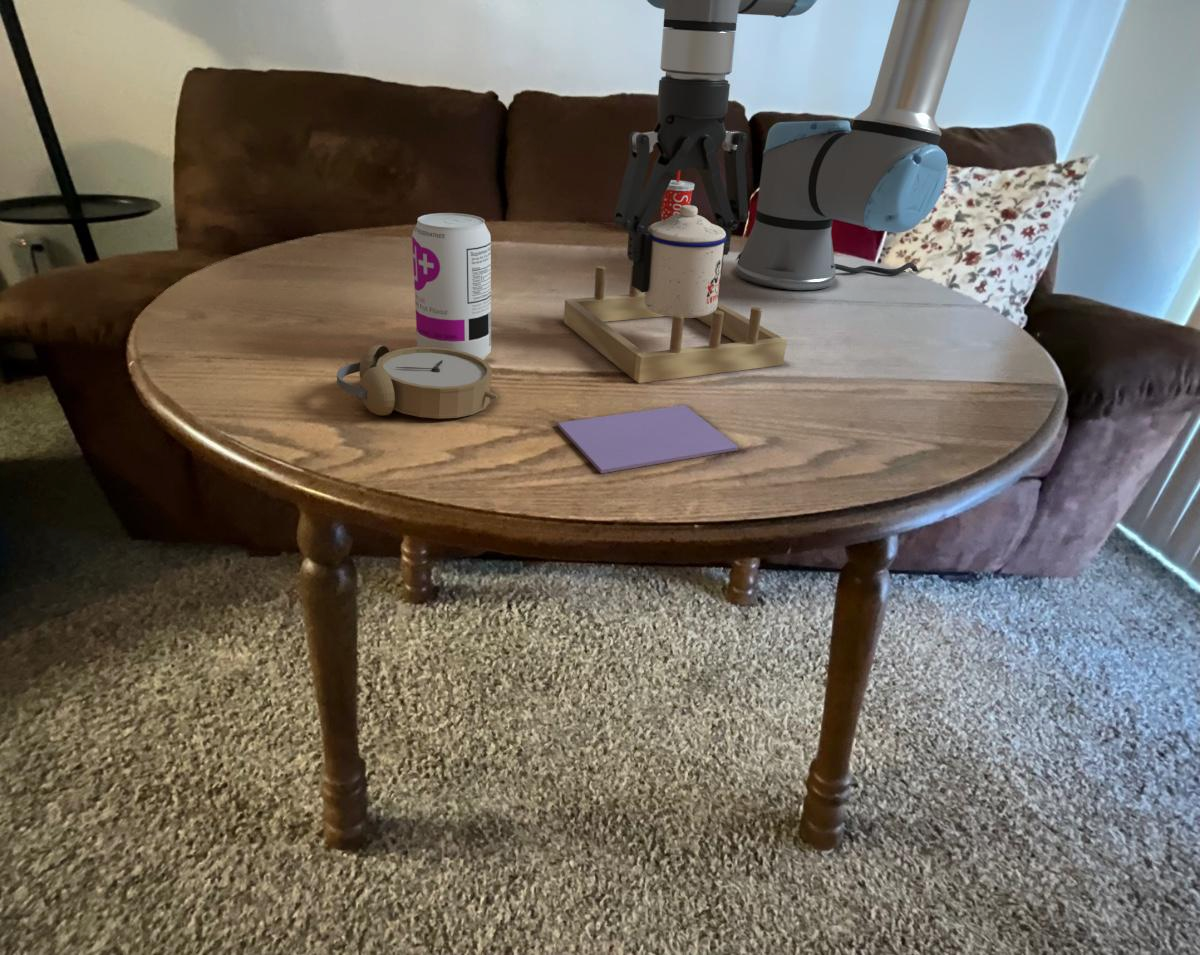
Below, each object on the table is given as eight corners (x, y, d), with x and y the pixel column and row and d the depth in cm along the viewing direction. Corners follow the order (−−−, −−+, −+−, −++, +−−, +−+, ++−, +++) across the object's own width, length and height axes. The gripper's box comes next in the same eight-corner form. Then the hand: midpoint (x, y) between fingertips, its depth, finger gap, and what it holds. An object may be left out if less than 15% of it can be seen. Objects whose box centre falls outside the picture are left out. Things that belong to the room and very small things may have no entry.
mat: (684, 408, 86) (684, 404, 86) (737, 450, 78) (738, 446, 78) (557, 426, 81) (557, 422, 81) (601, 473, 73) (601, 469, 73)
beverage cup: (654, 235, 155) (661, 154, 148) (658, 228, 160) (665, 150, 153) (688, 238, 154) (696, 157, 147) (690, 231, 159) (698, 152, 153)
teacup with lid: (723, 321, 97) (735, 216, 91) (644, 318, 96) (650, 213, 91) (711, 289, 107) (720, 194, 101) (639, 287, 107) (645, 191, 101)
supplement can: (431, 372, 91) (425, 230, 84) (409, 347, 97) (402, 213, 90) (501, 363, 94) (502, 226, 87) (476, 339, 101) (474, 210, 93)
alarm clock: (503, 390, 80) (338, 370, 75) (494, 437, 82) (333, 420, 77) (487, 349, 90) (340, 329, 85) (479, 392, 92) (335, 375, 87)
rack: (692, 310, 116) (698, 259, 112) (783, 365, 99) (793, 306, 96) (563, 322, 108) (565, 268, 105) (637, 383, 91) (643, 321, 88)
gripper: (761, 74, 96) (736, 269, 107) (586, 71, 88) (579, 283, 99) (800, 80, 91) (770, 286, 102) (617, 77, 82) (606, 302, 93)
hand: (676, 285), depth 100 cm, fingers closed on teacup with lid, 9 cm apart
